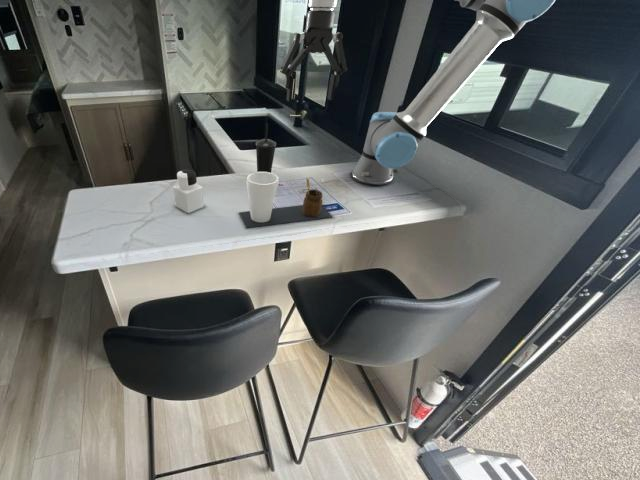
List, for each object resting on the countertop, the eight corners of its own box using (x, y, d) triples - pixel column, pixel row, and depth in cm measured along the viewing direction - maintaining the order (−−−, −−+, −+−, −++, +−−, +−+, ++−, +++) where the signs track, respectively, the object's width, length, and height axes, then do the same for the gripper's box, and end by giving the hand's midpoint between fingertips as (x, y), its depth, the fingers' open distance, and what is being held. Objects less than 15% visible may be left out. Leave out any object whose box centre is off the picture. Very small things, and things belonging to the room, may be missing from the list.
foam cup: (272, 226, 100) (276, 186, 91) (243, 223, 102) (244, 183, 93) (276, 211, 107) (280, 173, 98) (249, 209, 108) (250, 170, 99)
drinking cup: (274, 184, 124) (278, 127, 110) (254, 184, 124) (256, 127, 110) (272, 176, 129) (277, 120, 115) (253, 175, 129) (255, 120, 115)
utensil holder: (323, 216, 105) (330, 180, 97) (305, 218, 104) (311, 182, 96) (315, 207, 109) (321, 172, 101) (298, 210, 108) (303, 174, 100)
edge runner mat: (320, 204, 112) (320, 203, 112) (332, 217, 105) (332, 216, 105) (239, 213, 107) (239, 212, 107) (246, 228, 100) (246, 227, 100)
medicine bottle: (191, 199, 114) (188, 165, 106) (204, 206, 110) (202, 171, 102) (175, 206, 110) (170, 171, 102) (188, 214, 107) (184, 178, 98)
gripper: (358, 9, 91) (341, 96, 106) (273, 9, 88) (268, 98, 103) (371, 10, 86) (351, 101, 101) (280, 10, 83) (274, 104, 97)
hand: (309, 100), depth 102 cm, fingers open, 13 cm apart
